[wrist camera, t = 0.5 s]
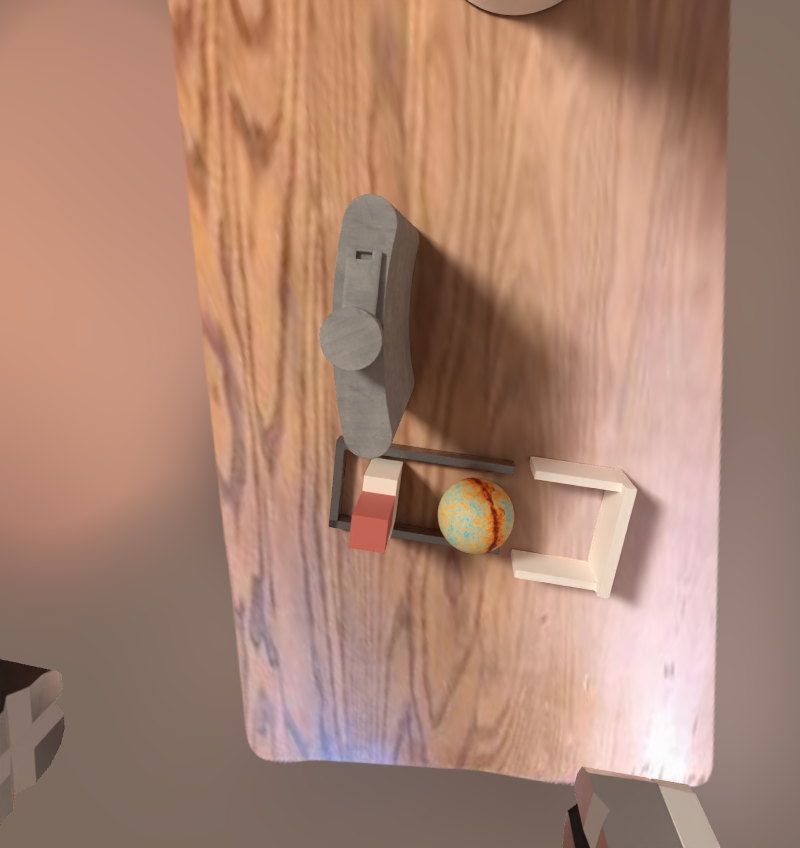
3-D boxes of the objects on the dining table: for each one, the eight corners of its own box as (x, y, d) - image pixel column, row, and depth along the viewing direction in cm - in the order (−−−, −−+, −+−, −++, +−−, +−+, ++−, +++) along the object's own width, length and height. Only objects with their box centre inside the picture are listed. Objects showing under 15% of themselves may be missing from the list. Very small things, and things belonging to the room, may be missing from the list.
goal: (530, 456, 52) (537, 474, 47) (620, 469, 51) (637, 489, 47) (510, 556, 55) (515, 583, 50) (595, 569, 54) (608, 598, 50)
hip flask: (414, 399, 52) (386, 474, 33) (372, 397, 52) (320, 470, 33) (420, 221, 47) (392, 187, 28) (374, 220, 48) (316, 186, 29)
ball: (431, 522, 55) (428, 557, 48) (448, 459, 53) (447, 486, 46) (499, 539, 55) (505, 577, 48) (519, 476, 53) (527, 506, 46)
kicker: (372, 457, 53) (353, 497, 44) (403, 461, 53) (390, 503, 44) (366, 512, 55) (346, 563, 46) (395, 517, 55) (382, 569, 45)
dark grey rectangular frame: (340, 435, 54) (336, 440, 52) (513, 461, 52) (514, 466, 51) (332, 520, 56) (328, 526, 55) (497, 546, 55) (498, 554, 53)
